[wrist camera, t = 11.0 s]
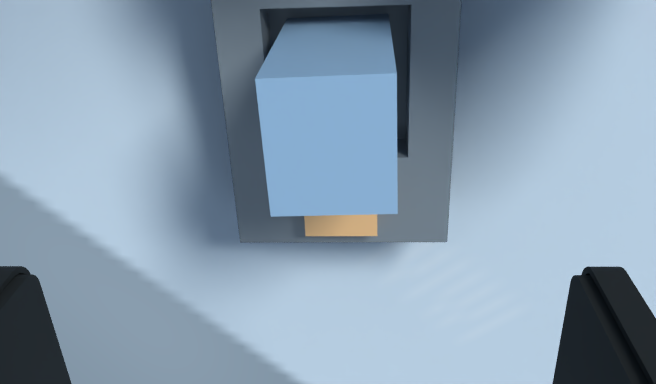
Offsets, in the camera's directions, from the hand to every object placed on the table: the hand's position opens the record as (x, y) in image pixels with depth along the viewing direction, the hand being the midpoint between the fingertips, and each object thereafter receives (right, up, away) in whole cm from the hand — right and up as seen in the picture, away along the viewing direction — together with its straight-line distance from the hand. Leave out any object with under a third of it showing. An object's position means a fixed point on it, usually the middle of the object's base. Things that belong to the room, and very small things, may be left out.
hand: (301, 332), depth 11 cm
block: (+1, +8, +15) cm, 16 cm away
